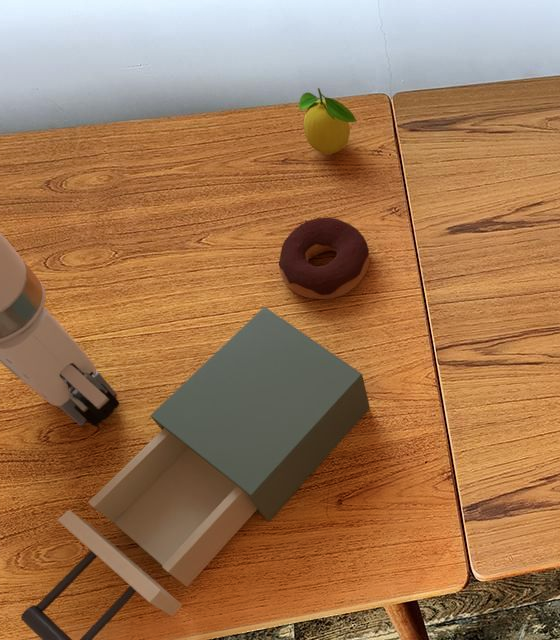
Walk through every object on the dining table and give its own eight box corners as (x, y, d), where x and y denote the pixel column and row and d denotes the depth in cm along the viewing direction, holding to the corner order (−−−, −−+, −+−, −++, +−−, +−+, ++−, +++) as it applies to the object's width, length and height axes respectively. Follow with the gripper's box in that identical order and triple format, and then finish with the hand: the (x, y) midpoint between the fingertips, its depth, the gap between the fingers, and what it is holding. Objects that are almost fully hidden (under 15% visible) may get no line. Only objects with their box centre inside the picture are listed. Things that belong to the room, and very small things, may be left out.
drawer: (105, 691, 63) (76, 683, 58) (18, 606, 66) (-18, 591, 61) (281, 494, 72) (268, 473, 67) (196, 428, 75) (178, 403, 70)
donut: (299, 317, 83) (293, 297, 80) (269, 252, 88) (262, 231, 84) (384, 283, 86) (381, 262, 82) (351, 222, 90) (347, 200, 87)
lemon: (362, 162, 95) (353, 100, 87) (317, 174, 94) (303, 113, 86) (346, 126, 99) (336, 63, 90) (302, 138, 97) (288, 75, 89)
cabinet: (269, 522, 71) (250, 495, 65) (176, 447, 75) (149, 415, 68) (370, 408, 78) (362, 373, 71) (279, 344, 81) (264, 306, 75)
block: (80, 426, 76) (61, 406, 72) (51, 401, 77) (30, 381, 73) (116, 393, 78) (99, 373, 74) (87, 370, 79) (69, 349, 75)
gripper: (-117, 274, 62) (-5, 375, 78) (17, 387, 57) (109, 471, 73) (-37, 218, 66) (56, 325, 81) (97, 319, 61) (169, 413, 76)
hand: (80, 393), depth 77 cm, fingers open, 6 cm apart
